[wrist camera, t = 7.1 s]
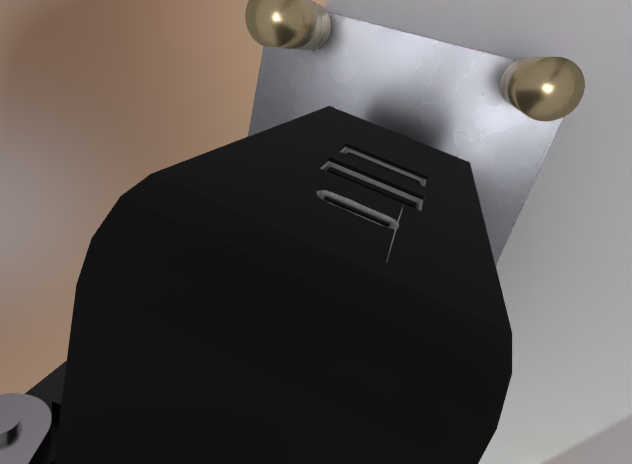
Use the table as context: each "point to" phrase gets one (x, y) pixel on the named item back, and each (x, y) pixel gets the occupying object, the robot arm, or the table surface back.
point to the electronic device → (290, 308)
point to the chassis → (417, 95)
